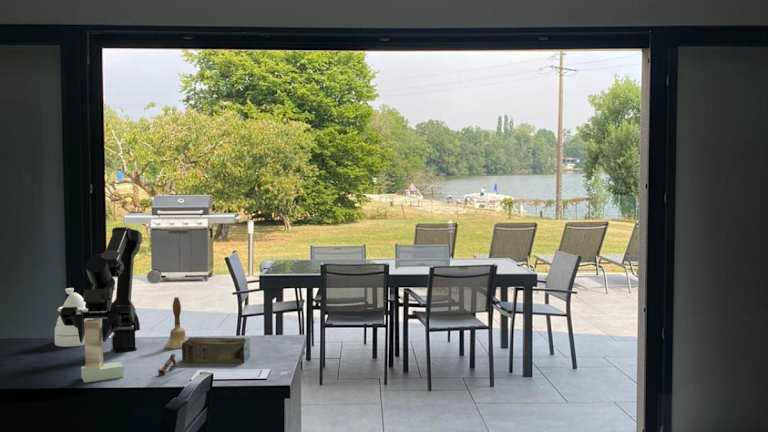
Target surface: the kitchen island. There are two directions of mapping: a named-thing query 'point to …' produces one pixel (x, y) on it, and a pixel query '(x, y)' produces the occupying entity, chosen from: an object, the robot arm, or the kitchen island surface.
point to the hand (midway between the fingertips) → (92, 341)
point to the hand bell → (176, 328)
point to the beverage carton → (216, 350)
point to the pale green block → (103, 372)
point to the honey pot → (69, 334)
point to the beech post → (93, 344)
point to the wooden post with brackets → (172, 359)
